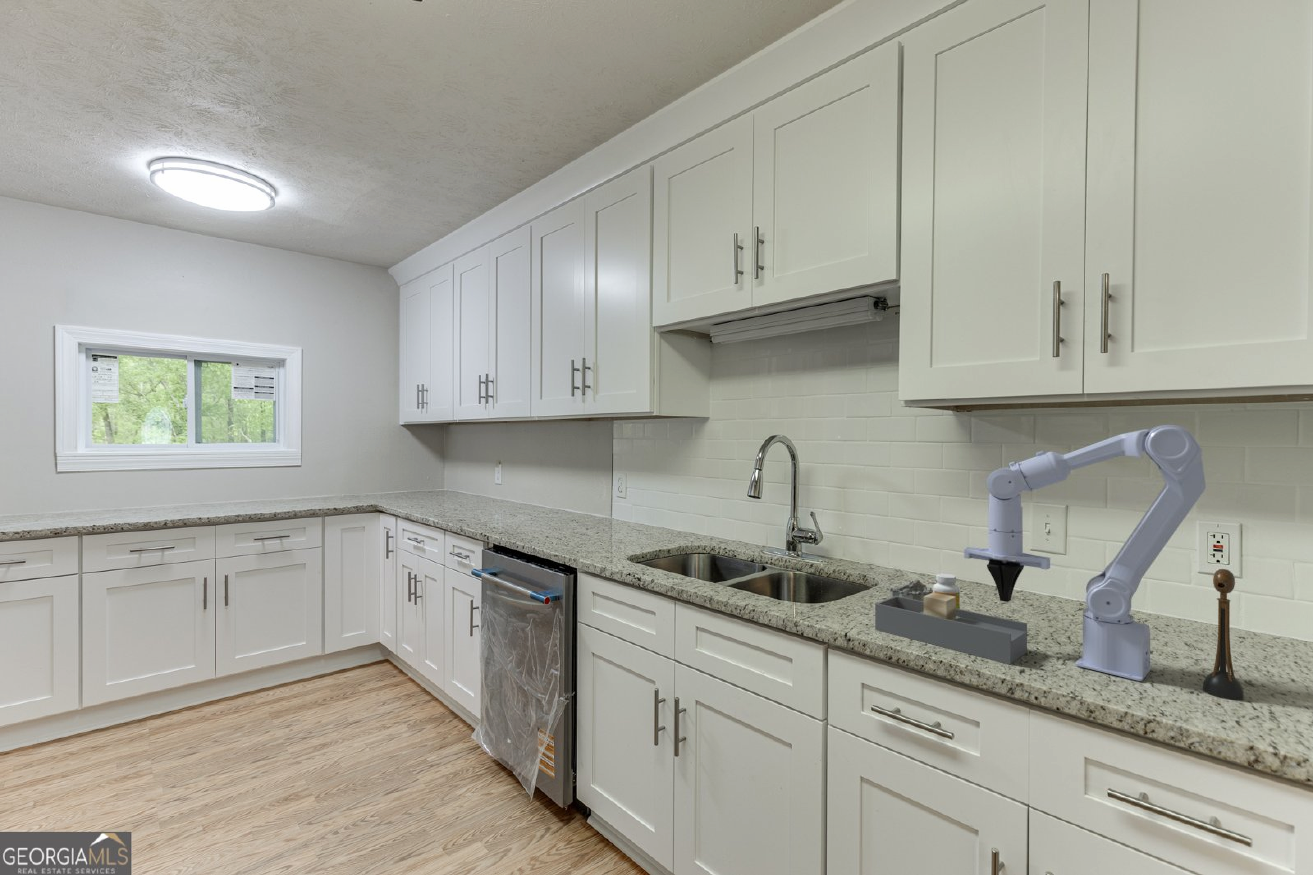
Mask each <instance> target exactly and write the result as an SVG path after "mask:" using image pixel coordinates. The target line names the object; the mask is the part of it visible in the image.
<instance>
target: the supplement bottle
mask: <svg viewBox="0 0 1313 875" xmlns="http://www.w3.org/2000/svg"><path fill="white" fill-rule="evenodd" d="M935 579H936V582H937V583H935V584H933V586H932V589H933V592H934V593H939V594H944V595H949V596H954V597H956V609H960V606H961V605H960V602H961V601H960V597H961V596H960V594H961V592H960V591H961V590H960V587H959V586H958V585H957V584H956V583H957V576H956V575H954V574H950V573H937V574H936V577H935Z"/></svg>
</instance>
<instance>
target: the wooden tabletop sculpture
mask: <svg viewBox="0 0 1313 875" xmlns="http://www.w3.org/2000/svg"><path fill="white" fill-rule="evenodd" d="M1212 578H1213V580H1212V581H1213V582H1212V584H1213V587H1214V589H1215V591H1217V592H1218V593H1219V597H1217V598H1216V600H1217V601H1218V603H1217V604H1218V605H1217V606H1218V608H1217V609H1218V610H1217V611H1218V612H1217V614H1218V615H1217V616H1218V617H1217V622H1218V623H1217V644H1216V654H1215V662H1214V666H1213V671H1211V673H1209V674H1207V675H1206V677H1205V679H1204V680H1203V683H1202V684H1203V685H1202V691H1204V692H1205V693H1206V694H1209V695H1211V696H1214V697H1216V698H1220V699H1225V700H1232V701H1241V700H1244V688H1243V686H1242V684H1241V682H1240V681H1239V680H1238V678H1236V676H1235V673H1234V672H1235V671H1234V667H1233V662H1232V661H1233V659H1232V653H1231V652H1232V651H1231V640H1230V639H1231V636H1230V633H1231V631H1230V630H1231V628H1230V624H1231V623H1230V622H1231V621H1230V616H1231V614H1230V612H1231V611H1230V607H1231V606H1230V603H1231V599H1228V594H1231V593H1232V592H1233V591H1234V589H1235V586H1236V578H1235V575H1234V574H1233V572H1232V571H1230V570H1229V569H1226V568H1219V569H1217V570H1216V571H1215V572H1214V574H1213V577H1212Z"/></svg>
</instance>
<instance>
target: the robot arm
mask: <svg viewBox="0 0 1313 875" xmlns="http://www.w3.org/2000/svg"><path fill="white" fill-rule="evenodd" d="M1202 450H1203V449H1202V447H1201V445H1199V443H1198V442H1197V440H1196V438H1195V437H1194V435H1193V434H1192V433H1191V431H1189V430H1188V429H1186V428H1185V427H1182V426H1180V425H1174V424H1163V425H1157V426H1153V427H1152V428H1149V429H1139V430H1135V431H1129V432H1126V433H1121V434H1117V435H1114V436H1112V437H1110V438H1106V439H1105V440H1101V441H1099V442H1096V443H1093V444H1090V445H1088V446H1084V447H1081V448H1079V449H1076V450H1073V451H1071V452H1068V453H1064V454H1060V453H1057V452H1055V451H1053V450H1052V451H1048V452H1045V451H1044V450H1042V451H1038V452H1036V453H1035V456H1034V457H1031V458H1028V459H1025V460H1023V461H1019V462H1016V461H1012V462H1009V463H1008V464H1009V467H1000V468H998V469H996V470H994V471H992V472H991V473H990V474H989V475H988V477H987V479H986V487H987V490H988V492H989V494H988V502H989V505H988V509H987V510H988V514H987V515H988V521H987V522H988V526H987V527H988V534H987V535H988V548H979V547H970V546H969V547H965V548H963V558H964V559H974V560H982V561H988V563H987V564H986V567H987V570H988V571H989V573H990V576H991V577H992V579H993V582H994V584H995V586H996V590H997V592H998V596H999V597H998V598H999V601H1001V602H1005V603H1008V602H1010V601H1012V596H1013V593H1014V589H1015V585H1016V583H1017V581H1018V580H1019V577H1020V575H1021V573H1022V571H1023V570H1024V567H1031V568H1032V567H1033V568H1039V569H1041V570H1049V569H1051V557H1047V556H1041V555H1035V554H1031V553H1025V552H1023V551H1024V550H1023V549H1024V548H1023V537H1024V536H1023V535H1024V534H1023V527H1024V526H1023V522H1024V521H1023V507H1022V494H1021V493H1022V491H1026V492H1032V491H1035V490H1039V489H1042V488H1045V487H1048V486H1051V485H1054V484H1057V483H1058V484H1059V483H1061V482H1064V481H1066V480H1067V478H1068V476H1069V474H1070V473H1071V471H1073V470H1077V469H1081V468H1084V467H1087V466H1091V465H1094V464H1098V463H1101V462H1104V461H1108V460H1111V459H1114V458H1118V457H1128V458H1129V457H1130V458H1131V457H1132V458H1140V459H1141V458H1142V459H1143V458H1144V454H1143V453H1145V454H1146V455H1147V456H1148V457H1149V458H1150V460H1151V461H1152V462H1154V463H1155V464H1156V465H1157V467H1158V470H1159V473H1160V475H1161V477H1162V479H1163V481H1164V486H1163V487H1162V489H1161V490H1160V492H1159V493H1158V495H1157V496H1156V497H1155V499H1154V501H1153V502H1152V503H1151V505H1150V506H1149V507H1148V509H1147V510H1146V512H1145V513H1144V515H1143V516H1142V518H1141V519H1140V521H1139V522H1138V523H1137V525H1136V527H1135V528H1134V529H1133V530H1132V532H1131V534H1130V535H1129V536H1128V537H1127V539H1126V541H1125V542H1124V544H1123V545H1122V547H1121V548H1120V549H1119V551H1118V552H1117V554H1116V556H1115V557H1114V558H1113V560H1111V562H1110V563H1109V564H1108V565H1106V567H1105V568H1104V569H1103V571H1101V573H1099V574H1097V575H1095V576H1093V577H1092V578H1090V579H1089V580H1088V582H1087V584H1086V586H1085V590H1086V591H1085V592H1086V595H1085V604H1086V607H1085V609H1083V610H1082V656H1080V658H1079V659H1077V660H1076V661H1075V662H1074V663H1075V664H1074V665H1075V666H1077V667H1081V668H1085V669H1088V670H1093V671H1097V672H1100V673H1101V672H1102V673H1105V674H1110V675H1112V676H1113V675H1114V676H1117V677H1121V678H1125V679H1128V680H1134V681H1138V682H1142V681H1143V680H1144V679H1145V678H1146V676H1147V675H1148V674H1149V673H1150V671H1151V670H1152V667H1151V629H1150V626H1149V625H1147V624H1145V623H1141V622H1138V621H1135V620H1134V615H1133V614H1130V613H1131V611H1132V598H1133V597H1134V595H1135V593H1136V592H1137V590H1138V588H1139V585H1140V583H1141V581H1142V579H1143V577H1144V576H1145V574H1146V573H1147V572H1148V570H1149V569H1150V567H1152V565H1153V563H1154V562H1155V560H1156V559H1157V558H1158V556H1159V555H1160V553H1161V552H1162V551H1163V549H1164V547H1165V546H1166V545H1167V544H1168V542H1169V541H1170V539H1171V538H1172V537H1173V535H1174V534H1175V532H1176V531H1177V530H1178V528H1179V527H1180V526H1181V524H1182V522H1184V520H1185V519H1186V517H1187V516H1188V514H1189V513H1190V511H1191V509H1192V508H1193V507H1194V506H1195V505H1196V503H1197V502H1198V501H1199V499H1200V497H1201V496H1202V494H1203V493H1204V492H1205V489H1206V479H1205V478H1206V477H1205V470H1204V465H1203V464H1204V463H1203V453H1202V452H1203V451H1202Z"/></svg>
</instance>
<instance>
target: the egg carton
mask: <svg viewBox="0 0 1313 875" xmlns="http://www.w3.org/2000/svg"><path fill="white" fill-rule="evenodd" d="M886 590H888V591H889V598H891V597H894V596H899V597H904V598H909V599H914V600H918V601H923V602H924V596H926V595H928V594H931V593H933V587H930V588H929V589H928V587H927V584H925V583H923V582H921V580H920V579H919V580H917V579H915V580H912V581H909V583H908V584H903V585H901V586H895V587H891V588H889V587H887V588H886Z"/></svg>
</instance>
